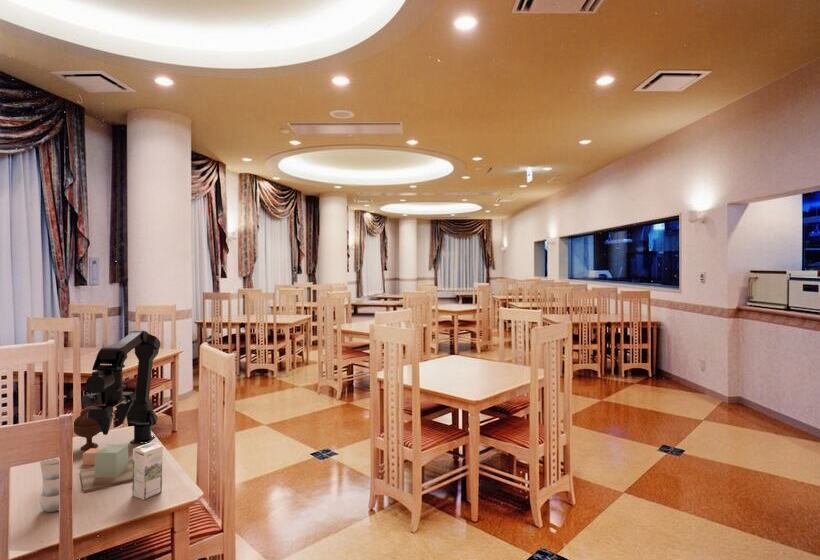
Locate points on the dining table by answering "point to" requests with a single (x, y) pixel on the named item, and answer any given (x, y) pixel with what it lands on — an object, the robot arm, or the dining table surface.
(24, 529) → the dining table surface
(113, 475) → the mint green cube
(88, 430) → the ice cream bowl
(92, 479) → the walnut board
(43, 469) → the plastic bottle
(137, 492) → the syrup box
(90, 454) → the terracotta cube
